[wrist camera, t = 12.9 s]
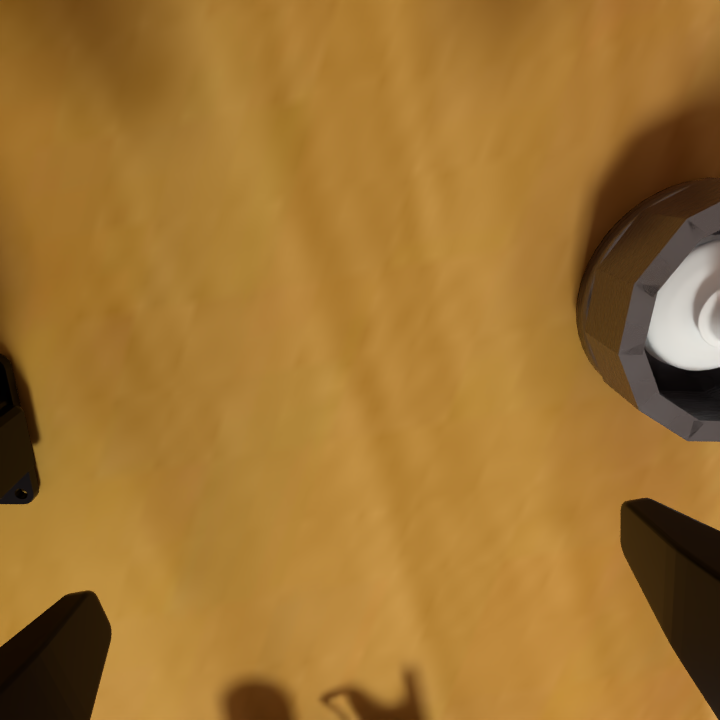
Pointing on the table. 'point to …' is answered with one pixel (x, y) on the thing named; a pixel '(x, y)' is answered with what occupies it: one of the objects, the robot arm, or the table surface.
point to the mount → (650, 307)
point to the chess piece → (689, 312)
